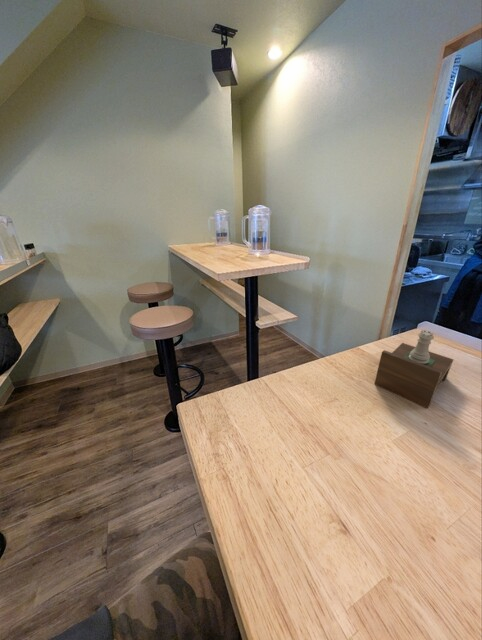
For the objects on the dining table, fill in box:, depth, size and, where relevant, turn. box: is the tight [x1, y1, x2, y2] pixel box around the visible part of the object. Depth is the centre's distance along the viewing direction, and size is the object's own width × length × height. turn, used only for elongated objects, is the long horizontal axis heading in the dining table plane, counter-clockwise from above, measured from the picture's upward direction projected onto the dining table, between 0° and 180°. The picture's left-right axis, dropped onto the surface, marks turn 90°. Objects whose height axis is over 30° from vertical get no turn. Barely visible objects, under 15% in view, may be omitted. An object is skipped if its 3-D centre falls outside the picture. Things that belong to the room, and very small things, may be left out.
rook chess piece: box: [409, 329, 435, 364], centre depth 63 cm, size 4×4×8 cm
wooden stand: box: [374, 342, 455, 409], centre depth 65 cm, size 16×12×10 cm
